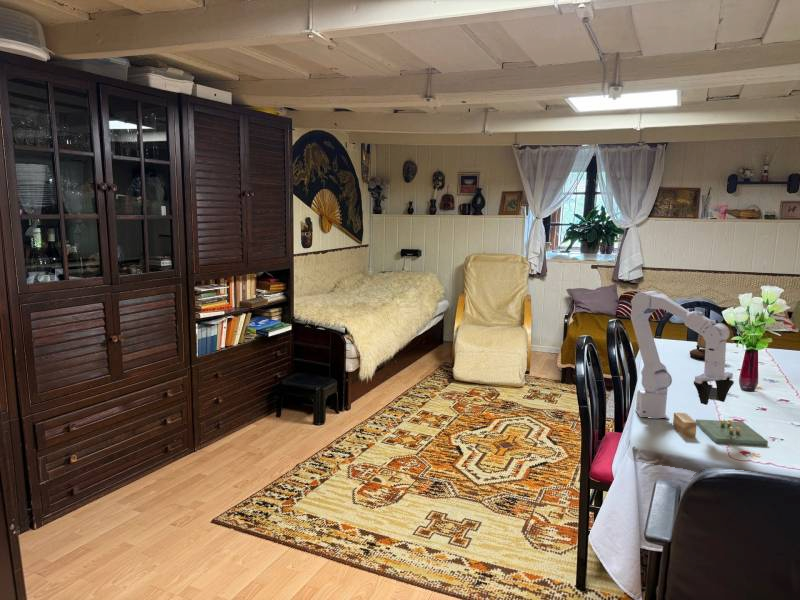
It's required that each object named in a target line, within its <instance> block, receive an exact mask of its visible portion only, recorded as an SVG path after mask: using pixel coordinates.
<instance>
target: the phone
mask: <svg viewBox="0 0 800 600" xmlns="http://www.w3.org/2000/svg"><path fill="white" fill-rule="evenodd" d="M698 398H699V395H698ZM714 399H716V400H715V401H718V400H717V387H713V386H712V388H711V391H710V394H709V400H714Z"/></svg>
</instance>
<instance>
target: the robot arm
mask: <svg viewBox="0 0 800 600" xmlns="http://www.w3.org/2000/svg"><path fill="white" fill-rule="evenodd" d="M630 304H631V312H630V320H631V323H632V328H633V330H634V334H635V338H636V341H637V345H638V348H639V352H640V356H641V359H642V363H643V367H642V369H641V372H640V373H641V385H642V387H643V389H640V390H637V393H636V402H635V404H636V405H635V410H634V411H635V412H636V413H637V414H638V416H639V417H640V418H641V417H651V418H650V419H657V418H666V419H665V420H670V417H669V416H668V414H667V412H666V411H667V400H668V388H669V387H670V386H671V385H672V382H673V379H672V378H673V377H672V375H671V374H670V372H668V370H667V366H666V365H665V364H663V362H662V361H661V359H660V356H659V352H658V349H657V344H656V342H655V337H654V335H653V332H652V328H651V325H650V321H649V318H650V317H651V316H652V314H653V313H654V312H655V311H656V310H664V311H665V312H668V313H670V314H672V315H673V316H675V317H677V318H679V319H681V320H682V321H683V323H684V325H685V326H686V327H687V328H689V329H691V330H692V331H694V332H696V334H698V333H699V334H700V335H702V336H703V338H704V340H705V341H706V348H705V358H704V371H703V373H702V374H700V375H696V376H695V375H694V381H693V385H694V386H695V388H696V390H697V394H698V396H699V397H698V398H699V402H700V404H702V405H705V406H707V405H708V404H709V401H710V399H709V394H710V391H711V388H712V387H713V384H709V383H708V382H715V386H716V387H715V388H717V400H716V401H719V402H722V403H724V402H725V401H726V399H727V396H728V393H729V391H730V389H731V388H732V387H733V385H734V384H735V380H733V377H734V375H733V374H734V373H733V372H730V371H725V368H726V355H727V354H726V351H727V346H726V345H727V340H728V339H729V338H730V335H731V331H730V329H729V327H728V326H727V325H725V323H722V322H719V323H717V324H716V321H715V320H716V319H710V318H709V317H706V316H705V315H704V312H701V311H696V310H694V311H689V310H688V309H686V308H684V307H683V306H682V305H680V304H679V303H677V302H675V301H674V300H673V299H671V298H669V297H668V296H667V295H666V294H664V293H661V292H660V291H659V290H650V291H639V292H637V293H636V294H634V296H633V297H632V299H631V300H630Z"/></svg>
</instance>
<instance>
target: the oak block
mask: <svg viewBox="0 0 800 600" xmlns="http://www.w3.org/2000/svg"><path fill="white" fill-rule="evenodd" d="M672 419H673V422H672V427H673V426H674V427H675V428H676V429H677V430H676V429H675V428H674V427H673V428H674V429H675V430H676V432H677V431H678V432H679V433H680V434H681V435H682V436H690V437H689V438H697V437H696V436H697V427H698V426H697V423H696V422H695V421H696V420H694V419H693V418H692V417H691V416H690V415H689V414H688V413H687V412H673V418H672ZM678 432H677V433H678ZM679 433H678V434H679ZM680 434H679V435H680ZM681 435H680V436H681ZM682 436H681V437H682Z"/></svg>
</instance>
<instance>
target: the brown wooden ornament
mask: <svg viewBox="0 0 800 600" xmlns="http://www.w3.org/2000/svg"><path fill="white" fill-rule="evenodd" d="M714 320H715V321H716V324H717V323H720V322H719V320H717V319H714ZM696 338H697V339H696V346H695V347H696V348H694V349H691V350H689V356H690V358H692V357H696V358H701V359H705V348H706V341H705V340H704V338H703V336H702V335H700V334H699V333H697V337H696Z"/></svg>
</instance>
